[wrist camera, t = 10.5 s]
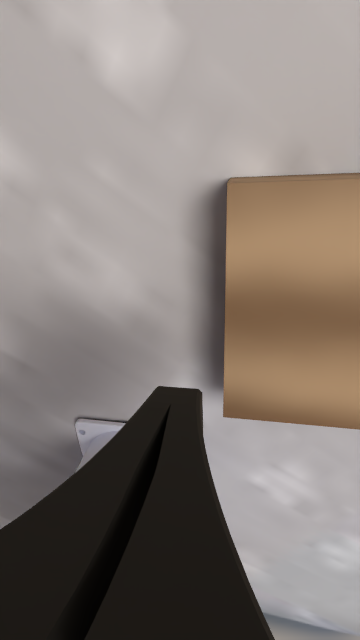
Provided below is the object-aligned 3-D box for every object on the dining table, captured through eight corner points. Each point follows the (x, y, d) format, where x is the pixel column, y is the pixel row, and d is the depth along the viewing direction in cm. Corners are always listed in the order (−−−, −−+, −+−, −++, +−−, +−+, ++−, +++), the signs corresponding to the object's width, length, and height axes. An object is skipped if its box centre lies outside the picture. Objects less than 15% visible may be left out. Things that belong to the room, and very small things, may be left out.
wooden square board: (439, 398, 19) (470, 439, 16) (226, 383, 21) (223, 416, 18) (530, 166, 13) (599, 170, 11) (230, 177, 15) (227, 183, 13)
